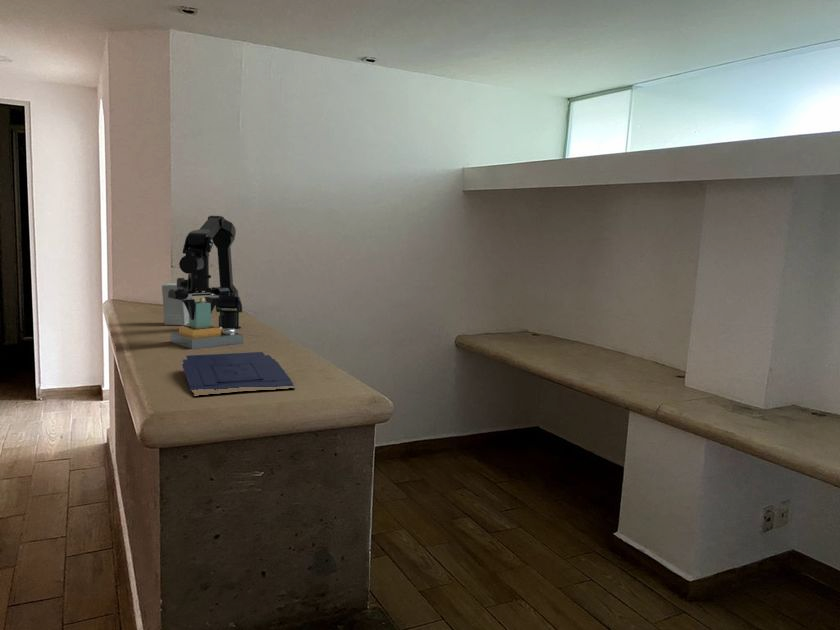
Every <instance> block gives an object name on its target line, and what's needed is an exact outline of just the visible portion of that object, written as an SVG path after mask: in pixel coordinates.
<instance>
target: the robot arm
mask: <svg viewBox="0 0 840 630" xmlns="http://www.w3.org/2000/svg"><path fill="white" fill-rule="evenodd" d="M236 231H237V230H236V227H235V225H234V224H233V222H230V221H229V220H227V219H226V218H225V217H224V216H222V215H210V216H207V220H206V221H205V222H204V223H203V225H202V226H201V227H200V228H199V229H195V230H192V231H190V232H189V233H188V234H187V235H186V237H185V241H184V244H183V245H184V246H183V249H182V255H183V254H184V255H183V256H182V257H181V258H180V260H179V262H178V263H179V264H178V265H179V269H180V270H181V271H182V272H183V273H185V274H188V275H187V279H185V278H184V277H178V278H177V279H176V283H177V288H178V289H170V290H169V292H168V298H172V299H179V300H181V301H183V303H184V304H185V306H186V308H187V310H188V313H189V316H190V318H191V320H194V309H195V302H196V299H193V297H201V296H204V301H205V302H208V303H211V314H212V313H213V311H214V309H215V310H216V313H219V316H218V326H220V327H222V328H234V329H241V328H242V327H241V325H240V323H239V322H240V316H239V315H240V313H243V304H242V300H241V297H240V296H239V290H238V289H237V288H236V286H235V285H234V279H233V266H232V249H231V248H232V246H233V244H234V241H235V240H236V239H235V237H236V233H237V232H236ZM213 245H214V246H215V248H216V249H217V262H218V263H217V265H218V273H219V286H212V287H210V279H212V275H211V274H210V259H209V257H210V253H211V251H212V250H213V249H212V248H213ZM179 288H183V289H179Z"/></svg>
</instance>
